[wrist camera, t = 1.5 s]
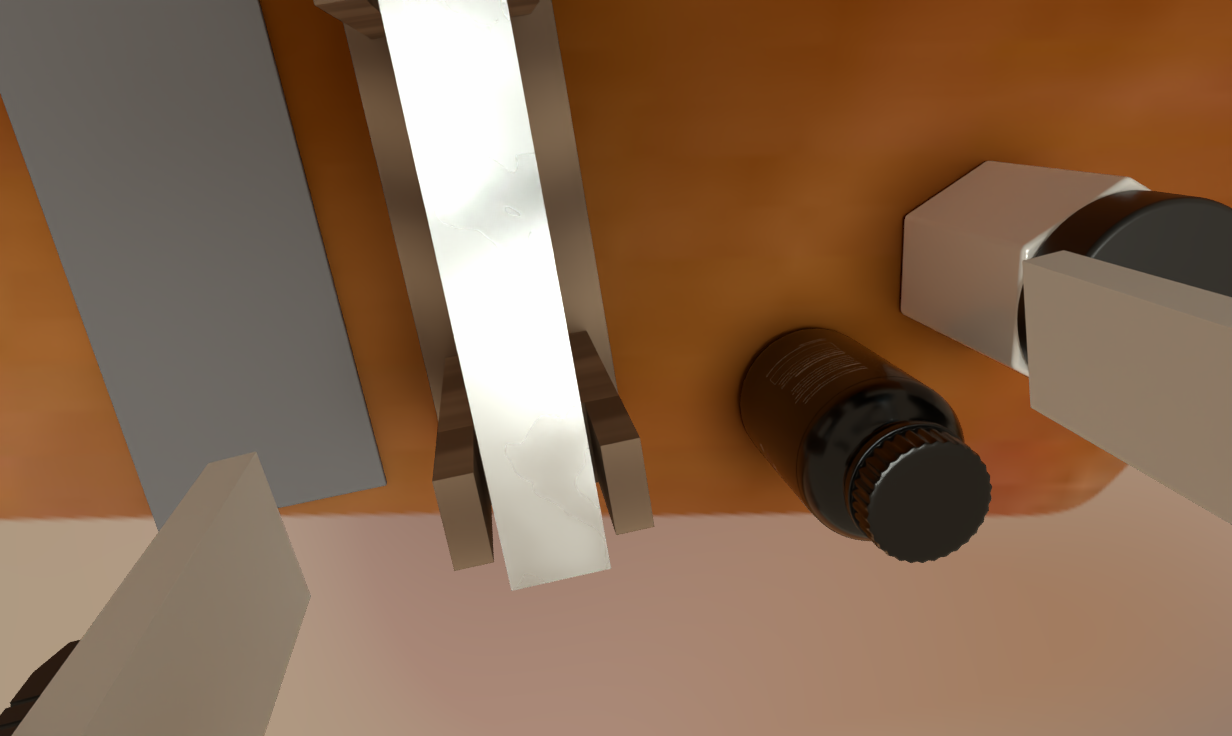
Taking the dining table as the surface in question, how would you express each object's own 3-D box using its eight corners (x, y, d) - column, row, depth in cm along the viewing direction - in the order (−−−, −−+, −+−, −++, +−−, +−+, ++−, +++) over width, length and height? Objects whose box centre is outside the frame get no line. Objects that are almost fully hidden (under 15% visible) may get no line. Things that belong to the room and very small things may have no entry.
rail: (364, -124, 25) (337, -177, 20) (471, -139, 25) (470, -196, 20) (505, 515, 31) (511, 590, 26) (590, 497, 31) (611, 568, 26)
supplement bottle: (730, 461, 43) (823, 592, 31) (743, 323, 41) (848, 410, 29) (864, 460, 44) (1001, 586, 32) (883, 326, 42) (1035, 410, 31)
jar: (936, 378, 43) (1101, 478, 32) (860, 240, 40) (1011, 295, 29) (1091, 274, 43) (1315, 338, 31) (1025, 129, 40) (1243, 140, 29)
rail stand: (321, -81, 33) (222, -199, 20) (529, -111, 34) (566, -244, 21) (447, 448, 40) (435, 619, 27) (619, 413, 41) (689, 562, 28)
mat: (-51, -58, 32) (-55, -59, 32) (233, -98, 33) (231, -100, 33) (161, 529, 39) (159, 532, 39) (386, 482, 40) (386, 485, 40)
